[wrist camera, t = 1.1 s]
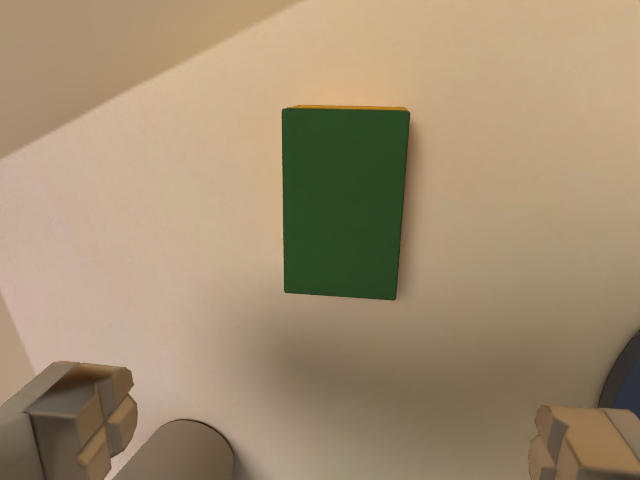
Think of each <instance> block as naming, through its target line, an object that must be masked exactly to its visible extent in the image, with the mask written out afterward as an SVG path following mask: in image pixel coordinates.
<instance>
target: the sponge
mask: <svg viewBox="0 0 640 480" xmlns="http://www.w3.org/2000/svg"><path fill="white" fill-rule="evenodd" d="M409 122H410V112H409V111H408V110H407V109H406V108H405V107H373V106H322V105H298V106H293V107H289V108H285V109H282V166H283V242H284V292H285V293H295V294H310V295H324V296H339V297H354V298H368V299H383V300H395V299H396V293H397V279H398V266H399V253H400V240H401V227H402V214H403V201H404V187H405V174H406V161H407V148H408V135H409Z"/></svg>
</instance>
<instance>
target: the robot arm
mask: <svg viewBox="0 0 640 480" xmlns="http://www.w3.org/2000/svg"><path fill="white" fill-rule="evenodd" d="M133 386H134V383H133V378H132V373H131V371H130V370H128V369H127V368H126V367H117V366H108V365H99V364H90V363H79V362H69V361H58V362H53V363H52V364H51V365H50V366H48V367H47V368H46V369H45V370H44V371H42V372H41V373H40V374H39V375H38V376H36V377H35V378H34V379H33V380H32V381H30V382H29V383H28V384H27V385H26V386H24V387H23V388H22V389H21V390H20V391H18V392H17V393H16V394H15V395H14V396H12V397H11V398H10V399H9V400H7V401H6V402H5V403H4V404H3V405H1V406H0V480H104V478H105V477H106V476H107V474H108V473H109V471H110V470H111V469H112V467H111V458H112V457H114V456H116V455H117V454H119V453H121V452H123V451H124V450H125V449H126V447H127V446H128V444H129V443H130V441H131V440H132V437H133V434H134V431H135V429H136V426H137V417H138V411H137V403H136V402H135V401H134V400H133V398H132V397H131V396H130V395H129V394H128V393H129V391H130V390H131V388H132V387H133ZM535 424H536V426H537V428H538V430H539V433H540V434H539V435H537V436H536V437H535V438H534V439H533V440H531V443H530V449H529V455H528V459H529V473H530V478H531V480H640V420H639V419H638V417H637V416H636V415H635V414H634V413H633V412H631V411H629V410H626V409H609V408H598V409H594V408H582V407H570V406H558V405H546V404H540V406H539V408H538V410H537V413H536V418H535Z"/></svg>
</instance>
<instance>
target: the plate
mask: <svg viewBox="0 0 640 480" xmlns="http://www.w3.org/2000/svg"><path fill="white" fill-rule="evenodd" d="M599 408H609V409H626V410H629V411H631V412H633V413H634V414H635V415H636V416H637V417H638V419H639V420H640V331H639V332H638V333H637V334H636V335H635V336H634V337H633V338H632V340H631V341H630V342H629V344H628V345H627V347H626V348H625V349H624V351H623V352H622V354H621V355H620V356H619V358H618V359H617V361H616V363H615V365H614V367H613V369H612V371H611V373H610V375H609V377H608V378H607V381H606V384H605V386H604V389H603V392H602V395H601V398H600V402H599Z"/></svg>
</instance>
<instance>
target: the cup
mask: <svg viewBox="0 0 640 480" xmlns="http://www.w3.org/2000/svg"><path fill="white" fill-rule="evenodd" d="M233 467H234V459H233V453H232V451H231V449H230V447H229V445H228V444H227V442H226V441H225V440H224V439H223V437H222V436H221V435H219V434H218V433H217V432H216V431H214V430H213V429H211V428H209V427H207V426H205V425H203V424H200V423H197V422H193V421H183V420H179V421H174V422H169V423H167V424H165V425H163V426H161V427H160V428H159V429H158V430H157V431H156V432H155V433H154V434H153V435H152V436H151V437H150V438H149V439H148V440H147V442H146V443H145V444H144V445H143V446H142V447H141V448H140V449H139V450H138V451H137V453H136V454H135V455H134V456H133V457H132V458H131V459H130V460H129V461H128V463H127V464H126V465H125V466H124V467H123V468H122V469H121V470H120V471H119V472H118V474H117V475H116V476H115V477H114V478H113V479H112V480H231V477H232V472H233Z"/></svg>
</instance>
